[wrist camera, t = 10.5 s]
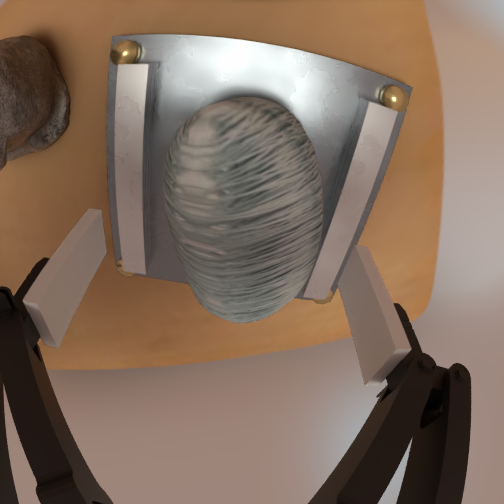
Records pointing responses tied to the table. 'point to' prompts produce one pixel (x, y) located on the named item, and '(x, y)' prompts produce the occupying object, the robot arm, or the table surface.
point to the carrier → (234, 86)
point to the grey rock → (243, 206)
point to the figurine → (29, 98)
